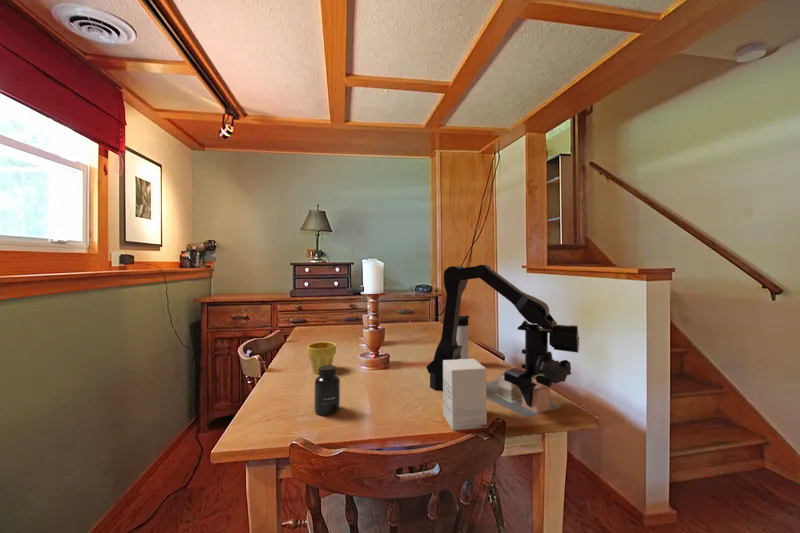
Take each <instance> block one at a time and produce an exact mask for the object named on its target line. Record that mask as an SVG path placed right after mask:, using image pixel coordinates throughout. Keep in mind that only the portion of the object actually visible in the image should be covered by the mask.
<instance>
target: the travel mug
mask: <svg viewBox="0 0 800 533" xmlns="http://www.w3.org/2000/svg"><path fill="white" fill-rule="evenodd" d="M469 319H470V315H459V320H458V328H457V337H456V341H457V344H458V345H460V346H462V349H461V352H460V355H461V358H460V359H469V329H470V328H469Z"/></svg>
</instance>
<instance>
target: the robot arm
mask: <svg viewBox="0 0 800 533" xmlns="http://www.w3.org/2000/svg"><path fill="white" fill-rule="evenodd" d="M473 279H475V280H476V279H480V280H482V281H483V282H484V283H486V284H487V285H488V286H489V287H491V288H492V289H493V290H495V292H497V293H498V294H500V295H501V296H502V297H503V298H505V299H506V300H508V301H509V302H510V303H511V304H512V305H513V306H514V307H515V309H516V310H517V311H518V313H519V314H520V315H521V316H522V317H523V318H524V319H525V320H524V321H523V322H521V324H520V325H519V326H517V328H516V329H517V330H518V331H524V332H525V333H524V334H525V336H524V337H525V338H524V339H525V341H524V343H525V344H524V347H525V348H524V349H521V354H524V363H522V364H521V369H520V368H516V367H514V368H510V369H506V370H505V371H504V373H503V374H504V380H505V381H507V382H510V383H512V384H515V385H517V386H518V387H519V389H520V391H521V393H522V395H523V397H524V399H525V402H526V404H527V405H528V406H531V404H532V395H533V388H534V387H535V386H536V385H537V384H535V383H533V382H534V378H535V379H536V380H535V382H538V383H540V384H543V385H545V386H548V387H550V388H551V387H552V385H553V384H559V383H561V382H563V383H564V382H565V381H566V379H567V376H569V375H571V374H572V372H571V370H572V366H571V361H568V360H567V359H564V360H561V361H559V360H555V359H553V354H552V352H551V351H549V346H551V348H553V350H554V351H562V352H571V353H576V354H577V353H578V354H579V352H580V351H579V349H580V337H579V326H578V325H575V324H574V325H573V324H571V325H567V324H558V322H556V320H555V318H553V316H552V315H551V314H550V308H549V305H548V304H547V303H546V302H545V301H543V300H541V299H538V298H537V297H535V296H533V295H530V294H527V293H526V292H523V291H522V290H521V289H519V288H518V287H516V286H515V285H514V284H512V283H511V282H510V281H508V279H506V278H505V277H503V276H501V275H500V273H497V272H496V271H495V270H493V269H492V268H491V266H490V265H487V264H479V265H475V266H467V267H464V266H463V265H457V266H456V265H455V266H454V265H452V266H448V267H447V268H446V269H445V270H444V271H443V288H444V289H445V293H446V294H445V295H446V299H445V306H444V313H443V314H444V315H443V320H442V321H443V323H442V330H441V337H440V341H439V343H438V345H437V347H436V349H435V352H434V353H435V354H434V356H433V359H432V361H431V362H429V363H428V364H427V365H426V369H427V372H428V374H429V388H430V389H432V390H434V391H440V392H441V391H442V392H443V360H457V359H460V358H461V355H460V352H461V349H462V346H460V345H458V344H457V341H456V337H457V328H458V320H459V316H460V309H461V302H462V296H463V294H464V291H465V290H466V287H467V284H468V280H473ZM548 334H549V336H548ZM548 338H549V339H548ZM548 341H549V342H548ZM548 345H549V346H548ZM523 369H524V370H523Z"/></svg>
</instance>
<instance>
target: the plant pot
mask: <svg viewBox="0 0 800 533" xmlns="http://www.w3.org/2000/svg"><path fill="white" fill-rule="evenodd" d="M336 353H337V344H336V343H334V342H331V341H318V342H313V343H309V344H308V345H307V357H308V356H309V360H310V365H311V369H312V373H314V374H318V372H319V367H320V366H323V365H333V362H334V356H335V355H336Z"/></svg>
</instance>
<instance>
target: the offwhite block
mask: <svg viewBox="0 0 800 533" xmlns="http://www.w3.org/2000/svg"><path fill="white" fill-rule="evenodd" d="M497 378H498V379H497V380H498V395H500V396H502V397H504V398H506V399H509V400H511V401H512V400H515V399H519V398H522V393H521V391H520V389H519V387H518V386H517V385H515V384H512V383H510V382H507V381H505V380H504V373H501V374H497Z"/></svg>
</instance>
